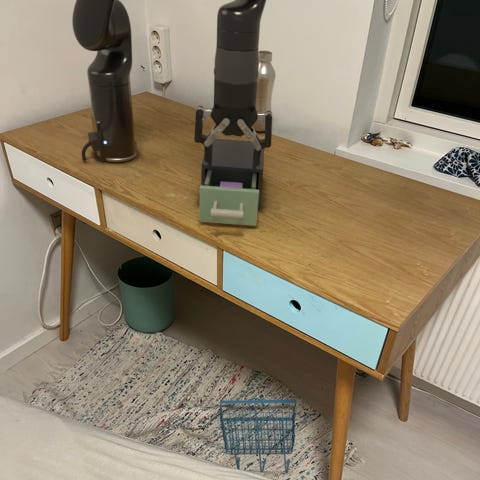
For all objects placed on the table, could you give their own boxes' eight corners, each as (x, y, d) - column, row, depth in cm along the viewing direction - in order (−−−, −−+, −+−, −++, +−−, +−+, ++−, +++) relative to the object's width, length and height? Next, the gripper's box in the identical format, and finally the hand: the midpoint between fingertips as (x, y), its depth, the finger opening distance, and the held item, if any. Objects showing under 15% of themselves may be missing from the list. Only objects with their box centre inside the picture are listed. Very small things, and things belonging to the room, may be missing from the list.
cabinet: (259, 210, 108) (263, 169, 102) (201, 205, 108) (201, 165, 102) (261, 180, 119) (264, 142, 113) (208, 176, 119) (208, 137, 113)
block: (240, 213, 102) (241, 192, 99) (218, 211, 102) (219, 191, 99) (241, 202, 105) (242, 182, 102) (219, 201, 105) (220, 181, 102)
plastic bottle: (269, 135, 140) (276, 56, 127) (245, 132, 141) (250, 53, 128) (272, 127, 145) (279, 50, 132) (249, 124, 146) (254, 48, 133)
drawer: (255, 239, 97) (258, 204, 92) (196, 234, 97) (196, 200, 92) (258, 194, 111) (260, 163, 106) (206, 191, 111) (206, 159, 106)
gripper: (277, 72, 89) (268, 160, 100) (197, 66, 89) (197, 155, 100) (277, 85, 84) (268, 176, 94) (192, 78, 84) (192, 171, 94)
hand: (231, 165), depth 97 cm, fingers open, 8 cm apart
